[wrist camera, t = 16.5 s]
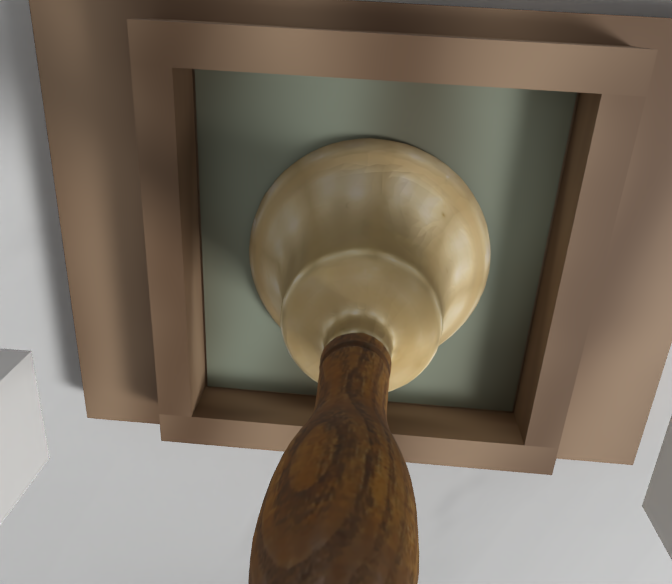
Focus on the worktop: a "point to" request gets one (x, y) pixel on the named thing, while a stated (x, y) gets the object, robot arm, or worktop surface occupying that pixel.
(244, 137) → the walnut stand
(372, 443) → the hand bell
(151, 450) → the worktop surface
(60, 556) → the worktop surface
